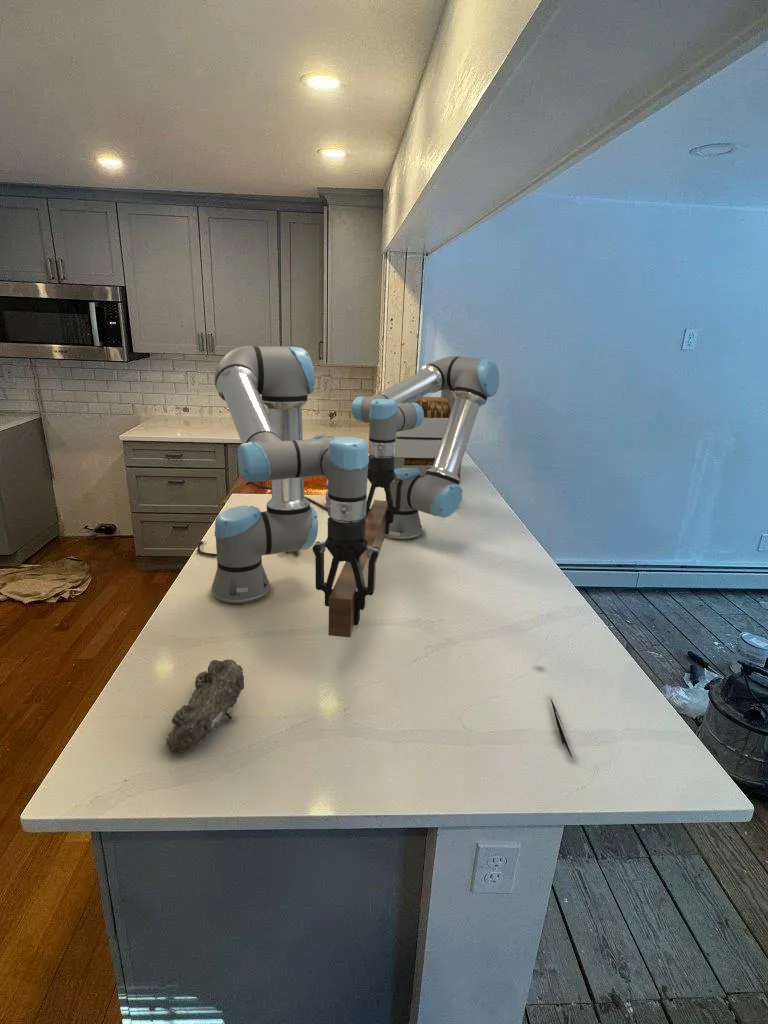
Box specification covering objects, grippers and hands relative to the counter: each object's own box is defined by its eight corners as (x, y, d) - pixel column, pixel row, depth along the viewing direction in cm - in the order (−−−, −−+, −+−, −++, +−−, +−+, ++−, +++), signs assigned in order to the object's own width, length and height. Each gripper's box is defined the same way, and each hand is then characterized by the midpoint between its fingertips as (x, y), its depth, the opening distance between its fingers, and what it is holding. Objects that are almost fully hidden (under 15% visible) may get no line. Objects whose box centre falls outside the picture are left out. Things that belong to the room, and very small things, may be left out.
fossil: (192, 660, 117) (244, 628, 112) (224, 691, 120) (276, 661, 115) (142, 746, 98) (202, 712, 93) (182, 779, 101) (242, 748, 96)
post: (373, 526, 173) (374, 499, 170) (388, 528, 173) (389, 501, 170) (328, 635, 115) (328, 597, 112) (350, 637, 114) (351, 599, 111)
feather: (540, 672, 128) (545, 666, 127) (572, 762, 101) (579, 755, 101) (533, 668, 128) (539, 662, 127) (564, 758, 101) (571, 750, 100)
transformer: (382, 463, 289) (386, 382, 275) (445, 464, 293) (451, 384, 279) (390, 482, 257) (394, 392, 243) (460, 483, 261) (468, 394, 247)
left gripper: (298, 519, 109) (299, 625, 117) (389, 527, 107) (383, 634, 115) (308, 507, 116) (308, 607, 124) (393, 514, 114) (388, 616, 122)
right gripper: (348, 456, 157) (346, 533, 165) (411, 460, 155) (406, 539, 163) (353, 449, 164) (351, 524, 172) (414, 454, 162) (409, 530, 170)
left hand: (344, 620), depth 119 cm, fingers closed on post, 5 cm apart
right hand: (378, 531), depth 168 cm, fingers closed on post, 5 cm apart
